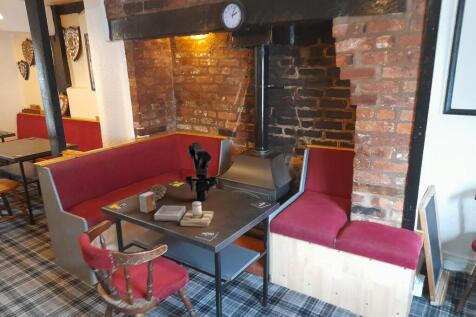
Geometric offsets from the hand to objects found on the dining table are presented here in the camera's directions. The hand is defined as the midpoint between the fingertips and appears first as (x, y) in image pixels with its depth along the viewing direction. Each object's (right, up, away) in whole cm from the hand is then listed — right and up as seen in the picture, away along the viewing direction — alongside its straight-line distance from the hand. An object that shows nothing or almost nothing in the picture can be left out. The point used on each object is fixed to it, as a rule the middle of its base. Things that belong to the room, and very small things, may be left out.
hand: (199, 193), depth 196 cm
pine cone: (-33, -8, +26) cm, 43 cm away
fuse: (-1, -15, -4) cm, 16 cm away
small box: (-33, -12, +12) cm, 37 cm away
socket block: (-1, -15, -4) cm, 15 cm away
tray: (-17, -14, +3) cm, 22 cm away
